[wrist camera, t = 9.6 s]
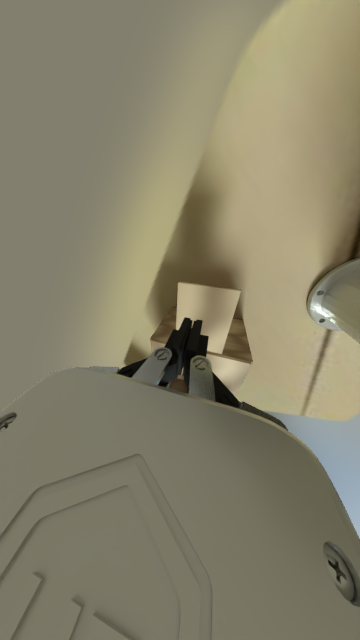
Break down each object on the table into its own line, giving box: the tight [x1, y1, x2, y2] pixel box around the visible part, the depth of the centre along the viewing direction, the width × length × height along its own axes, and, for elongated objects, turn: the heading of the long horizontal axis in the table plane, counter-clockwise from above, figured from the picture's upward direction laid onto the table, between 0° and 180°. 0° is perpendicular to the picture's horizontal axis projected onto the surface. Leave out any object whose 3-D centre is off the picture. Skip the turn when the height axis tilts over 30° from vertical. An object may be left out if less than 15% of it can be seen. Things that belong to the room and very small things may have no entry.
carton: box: [150, 307, 253, 396], centre depth 30 cm, size 16×16×12 cm
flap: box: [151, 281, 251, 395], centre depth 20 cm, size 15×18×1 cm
